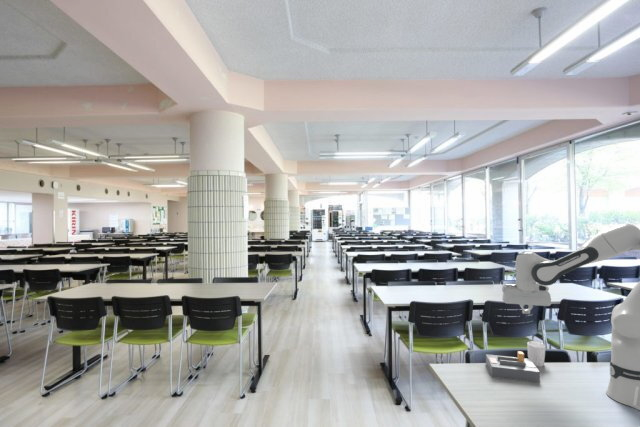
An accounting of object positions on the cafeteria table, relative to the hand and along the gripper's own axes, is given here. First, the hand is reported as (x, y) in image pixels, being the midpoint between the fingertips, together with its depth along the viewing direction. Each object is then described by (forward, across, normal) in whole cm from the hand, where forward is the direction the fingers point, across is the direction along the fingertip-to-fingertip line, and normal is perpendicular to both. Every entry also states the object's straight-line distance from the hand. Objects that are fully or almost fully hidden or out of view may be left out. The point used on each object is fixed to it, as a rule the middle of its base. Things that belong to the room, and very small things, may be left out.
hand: (526, 313), depth 162 cm
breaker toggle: (+24, -3, -2) cm, 24 cm away
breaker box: (+29, -7, -2) cm, 30 cm away
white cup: (+29, +8, +12) cm, 33 cm away
